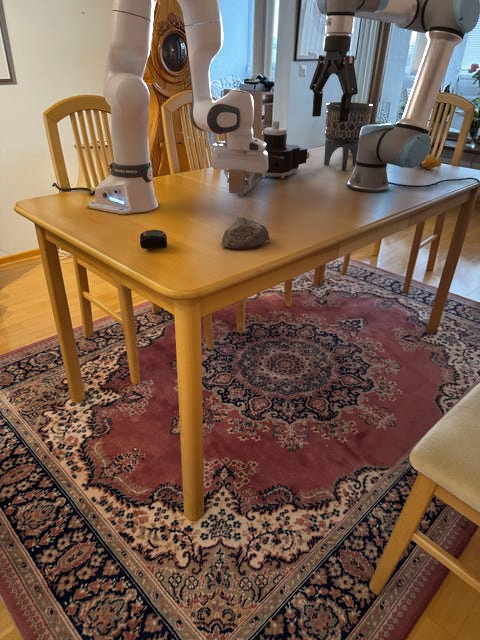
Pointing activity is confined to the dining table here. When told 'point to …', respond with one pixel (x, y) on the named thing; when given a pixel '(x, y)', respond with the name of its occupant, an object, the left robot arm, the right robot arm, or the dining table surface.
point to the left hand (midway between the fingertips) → (239, 183)
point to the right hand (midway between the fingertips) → (329, 119)
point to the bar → (242, 181)
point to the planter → (345, 130)
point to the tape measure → (153, 239)
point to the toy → (430, 162)
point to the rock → (245, 234)
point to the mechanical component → (282, 152)
